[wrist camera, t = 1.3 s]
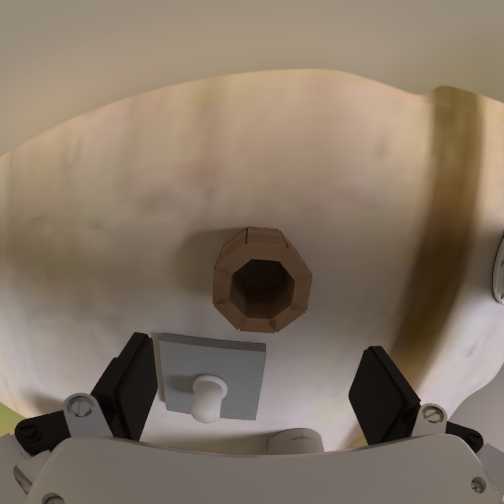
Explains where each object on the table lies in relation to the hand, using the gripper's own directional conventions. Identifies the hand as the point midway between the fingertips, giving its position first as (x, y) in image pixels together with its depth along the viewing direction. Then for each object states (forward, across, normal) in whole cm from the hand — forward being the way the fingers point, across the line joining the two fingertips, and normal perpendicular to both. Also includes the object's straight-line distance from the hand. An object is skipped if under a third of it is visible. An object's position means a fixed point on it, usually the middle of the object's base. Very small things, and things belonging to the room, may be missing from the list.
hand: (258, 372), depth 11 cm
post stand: (+15, +3, +14) cm, 21 cm away
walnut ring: (+15, -1, 0) cm, 15 cm away
